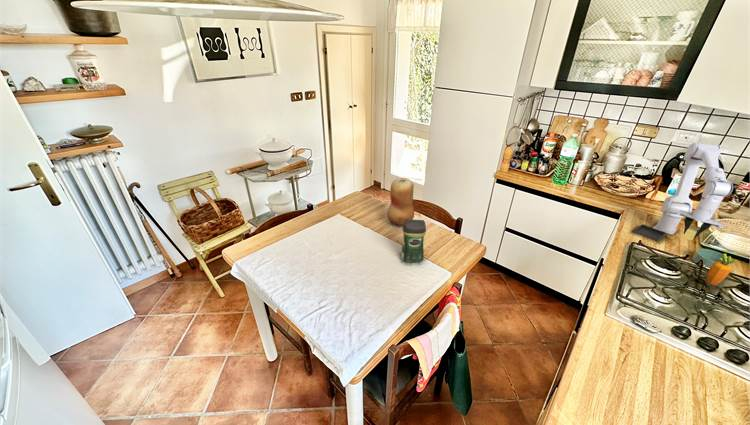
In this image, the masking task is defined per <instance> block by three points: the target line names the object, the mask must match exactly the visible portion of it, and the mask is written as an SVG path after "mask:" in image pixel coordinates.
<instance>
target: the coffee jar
mask: <svg viewBox="0 0 750 425" xmlns="http://www.w3.org/2000/svg"><path fill="white" fill-rule="evenodd" d="M426 225H427V224H426V221H425V220H424V219H413V220H405V221H404V225H403V226H402V234H403V239H402V247H401V252H400V258H401V260H402V261H403V262H404V263H406V264H419V263H422V262H423V261H424V255H425V253H424V239H425V235H426V234H427V226H426Z"/></svg>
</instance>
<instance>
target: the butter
mask: <svg viewBox="0 0 750 425" xmlns="http://www.w3.org/2000/svg"><path fill="white" fill-rule="evenodd" d="M699 229H700V227H696V226H694V225H690V227H689V228H688V229H687V231H686V232H685V234H683V235H682V239H685V240H687V241H690V242H691V241H693V239H694V236H695V235H696V233H697V232H698V230H699Z"/></svg>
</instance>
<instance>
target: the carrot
mask: <svg viewBox="0 0 750 425" xmlns="http://www.w3.org/2000/svg"><path fill="white" fill-rule="evenodd" d="M722 254H723V259H722V258H720V260H721V261H718V262H714V263H713V264H712V266H711V267H710V269H709V270H707V274H706V276H705V282H706V281H707V282H708V283H709V284H712V285H714V286H716V285H718V284H720V283H721V282H723V281H724V280H725V279H726V278H727V277H728V276H729V275H730V273H731V271H732V270H733V268H732V265H731V266H730V265H729V264H731V263H732V264H733V263H737V260H736V259H732V257H731V256H730V255H729V256H727V253H722ZM727 257H728V260H727ZM731 260H732V261H731Z"/></svg>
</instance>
